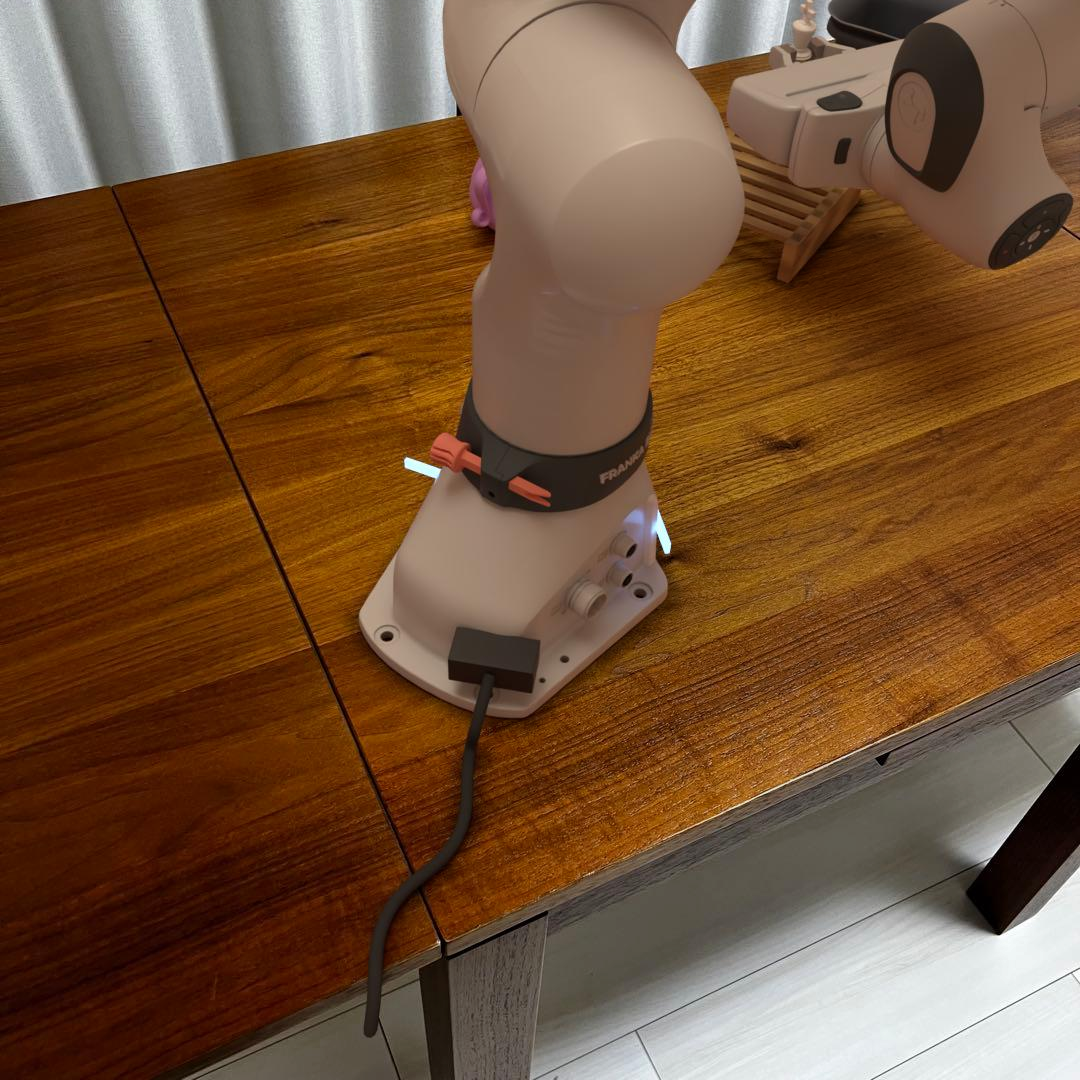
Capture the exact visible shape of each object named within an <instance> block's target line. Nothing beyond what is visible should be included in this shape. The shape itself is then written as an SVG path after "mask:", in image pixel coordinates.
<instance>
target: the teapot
mask: <svg viewBox="0 0 1080 1080" xmlns="http://www.w3.org/2000/svg"><path fill="white" fill-rule="evenodd" d="M468 196H469V197H468V198H469V201H470V204H471V207H472V209H473V211H472V212H471V214H470V221H471V223H472V224H473V226H474V227H476V228H477V227H478V228H485V227H487V226H488V227H489V228H490V229H492V230H493V231H495V232H496V230H495V214H494V206H493V201H492V196H491V192H490V188H489V184H488V181H487V177H486V173H485V169H484V166H483V163H482V160H481V158H480V156H479V157H478V159H477V161H476V163H475V165H474V168H473V171H472V174H471V177H470V182H469V190H468Z"/></svg>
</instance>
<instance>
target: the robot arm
mask: <svg viewBox="0 0 1080 1080" xmlns="http://www.w3.org/2000/svg"><path fill="white" fill-rule="evenodd" d="M696 2H697V0H443V4H442V5H443V6H442V17H441V18H442V19H441V21H442V22H441V23H442V45H443V57H444V65H445V72H446V78H447V82H448V85H449V88H450V92H451V94H452V96H453V98H454V100H455V102H456V104H457V107H458V109H459V111H460V113H461V116H462V118H463V120H464V122H465V124H466V126H467V129H468V130H469V133H470V135H471V137H472V139H473V141H474V143H475V144H474V145H475V147H476V149H477V152H478V155H479V157H480V158H481V160H482V163H483V166H484V169H485V173H486V177H487V181H488V184H489V188H490V192H491V196H492V201H493V206H494V214H495V230H496V231H495V230H494V231H495V235H494V247H493V253H492V256H491V259H490V260H491V261H490V262H489V263H488V264H487V265H486V266H485V267H484V268H483V269H482V271H481V272H480V273H479V275H478V277H476V280H475V283H474V285H473V289H472V293H471V369H472V370H471V372H472V375H471V377H470V380H469V381H468V385H467V389H466V392H465V396H464V397H463V402H461V406H460V410H459V414H458V415H459V416H460V417H459V421H458V424H457V428H456V429H457V430H456V433H455V436H453V435H452V434H450V433H448V432H441V433H440V434H439V435H438V436H437V437H436V438H435V439H434V441H433V443H432V446H431V448H430V451H429V458H430V461H431V462H433V463H434V464H436V465H439V466H442V467H440V468H438V467H435V466H433V465H431V464H427V463H424V462H421V461H418V460H415V459H413V458H410V457H405V458H404V468H405V469H408V470H411V471H414V472H417V473H419V474H423V475H425V476H428V477H431V478H434V481H433V483H432V485H431V487H430V489H429V491H428V492H427V494H426V496H425V499H424V500H423V502H422V504H421V506H420V508H419V510H418V512H417V513H416V515H415V517H414V519H413V521H412V523H411V525H410V527H409V529H408V531H407V532H406V535H405V536H404V539H403V541H402V542H401V544H400V546H399V548H397V549H398V550H397V551H396V553H395V554H394V556H393V557H392V558H391V560H390V562H389V563H388V564H387V567H386V569H385V570H384V572H383V573H382V574H381V576H380V578H379V579H378V581H377V582H376V584H375V585H374V587H373V589H372V590H371V592H370V593H369V595H368V596H367V598H366V599H365V602H364V603H363V605H362V606H361V608H360V610H359V613H358V626H359V628H360V631H361V633H362V635H363V638H364V639H365V640H366V642H367V644H368V645H369V647H370V648H371V649H372V650H373V652H374V653H375V654H376V655H377V656H378V657H379V658H380V659H381V660H382V661H383V662H384V663H385V664H387V666H389V667H390V668H391V669H393V670H394V671H395V672H396V673H398V674H399V675H400V676H402V677H403V678H405V679H406V680H408V681H409V682H411V683H413V684H414V685H415V686H417V687H419V688H420V689H422V690H424V691H425V692H427V693H430V694H432V695H433V696H434V697H437V698H438V699H441V700H442V701H445V702H447V703H449V704H451V705H454V706H456V707H459V708H462V709H464V710H467V711H470V712H472V716H471V720H470V723H469V727H468V731H467V733H466V734H467V735H466V738H465V744H464V750H463V755H462V761H461V775H460V803H459V811H458V815H457V820H456V823H455V826H454V828H453V830H452V833H451V835H450V837H449V838H448V840H447V842H446V843H445V845H444V846H443V847H442V849H441V850H439V852H438V853H437V854H436V855H435V856H434V857H433V858H431V859H430V860H429V861H428V862H427V863H426V864H424V865H423V866H421V867H420V868H419V869H418V870H416V871H415V872H414V873H413V874H412V875H411V876H409V877H408V878H407V879H406V880H405V881H404V882H402V884H400V885H399V887H398V888H396V890H395V891H394V892H393V893H392V895H391V896H390V897H389V899H387V901H386V903H385V905H384V906H383V908H382V910H381V912H380V914H379V916H378V919H377V921H376V924H375V927H374V930H373V933H372V936H371V940H370V946H369V953H368V968H367V990H366V992H367V993H366V1005H365V1013H364V1019H363V1020H364V1022H363V1028H362V1029H363V1036H365V1038H366V1039H367V1038H368V1039H372V1038H373V1037H375V1036H376V1034H377V1032H378V1030H379V1022H380V1013H381V1004H382V989H383V960H384V949H385V944H386V939H387V933H388V932H389V928H390V925H391V923H392V920H393V918H394V916H395V915H396V914H397V911H398V910H399V908H400V907H401V905H402V904H403V903H404V902H405V901H406V900H407V898H408V897H409V896H411V894H412V893H414V892H415V891H416V890H417V889H418V888H419V887H421V886H422V885H423V884H424V883H426V882H427V881H428V880H429V879H430V878H432V877H434V875H435V874H436V873H438V872H439V871H440V870H441V869H442V868H443V867H444V866H446V865H447V863H448V862H449V861H450V860H451V859H452V858H453V856H455V854H456V853H457V851H458V850H459V848H460V846H461V844H462V843H463V841H464V839H465V836H466V833H467V831H468V828H469V825H470V823H471V818H472V813H473V806H474V805H473V804H474V775H475V774H474V773H475V762H476V756H477V750H478V744H479V741H480V737H481V734H482V730H483V727H484V726H483V725H484V722H485V717H486V716H487V717H488V716H489V717H495V718H501V719H502V718H503V719H505V718H506V719H523V718H526V717H529V716H530V715H531V714H533V713H534V712H535V711H537V710H538V709H539V708H540V707H542V706H543V705H544V704H546V702H548V701H549V700H550V699H551V698H552V697H554V695H556V694H557V693H558V692H559V691H560V690H562V689H563V688H564V687H565V686H566V685H568V684H569V683H570V682H571V681H572V680H573V679H575V678H576V677H577V676H578V675H580V673H581V672H583V671H584V670H585V669H586V668H587V667H589V666H590V665H591V664H592V663H593V662H595V661H596V660H597V659H598V658H599V657H600V656H601V655H603V654H604V653H605V652H606V651H607V650H609V649H610V648H611V647H612V646H613V645H614V644H616V643H617V642H618V641H619V640H620V639H621V638H623V637H624V636H625V635H626V634H627V633H629V632H630V630H632V629H633V628H634V627H635V626H637V625H638V624H639V623H640V622H642V620H644V619H645V618H646V617H648V615H649V614H651V613H652V612H653V611H654V610H655V609H656V608H658V607H659V606H660V605H661V604H662V603H664V601H665V600H667V597H668V594H669V584H668V582H669V581H668V578H667V576H666V574H665V572H664V570H663V569H662V566H661V565H660V564H659V562H658V560H657V558H656V556H657V555H656V553H657V541H658V540H657V539H658V538H659V541H660V544H661V546H662V549H663V552H664V554H666V555H667V554H670V551H671V545H672V543H671V540H670V537H669V535H668V531H667V529H666V526H665V523H664V521H663V518H662V516H661V513H660V511H659V499H658V495H657V493H656V490H655V487H654V484H653V482H652V479H651V476H650V473H649V469H648V466H647V462H646V456H647V453H648V449H649V445H650V441H651V436H652V433H653V427H654V399H653V398H654V397H653V392H652V390H651V387H650V385H651V379H652V371H653V366H654V359H655V352H656V345H657V341H658V340H657V339H658V333H659V328H660V327H659V326H660V323H661V319H662V315H663V313H664V309H665V307H667V306H669V305H671V304H674V303H676V302H677V301H679V300H681V299H683V298H685V297H687V296H689V295H690V294H691V293H693V292H694V291H696V290H697V289H698V288H699V287H701V286H702V285H703V284H704V283H705V282H706V281H708V280H709V279H710V278H711V277H712V276H713V275H714V274H715V273H716V271H717V270H718V269H719V268H720V267H721V265H722V264H723V263H724V261H725V260H726V259H727V257H728V256H729V255H730V252H731V251H732V249H733V247H734V245H735V243H736V241H737V239H738V237H739V234H740V232H741V228H742V226H741V225H742V221H743V216H744V214H745V212H744V207H745V198H746V197H745V196H744V189H743V185H742V182H743V180H741V177H740V174H739V170H738V167H737V165H738V164H736V160H735V157H734V153H733V150H732V147H731V144H730V142H729V139H728V136H727V133H726V128H725V125H724V123H723V120H722V116H721V115H720V112H719V110H718V107H717V106H716V105H715V103H714V101H713V99H712V98H711V97H710V96H709V95H708V93H707V92H706V91H705V89H704V88H703V86H702V85H701V84H700V82H699V81H698V80H697V78H696V77H695V75H694V74H693V73H692V72H691V70H690V69H689V67H688V66H687V65H686V63H685V62H684V60H683V59H682V58H681V56H680V55H679V53H678V52H677V45H678V39H679V35H680V32H681V28H682V25H683V23H684V21H685V20H686V17H687V15H688V14H689V12H690V10H691V9H692V7H693V6H694V5H695V3H696ZM807 48H809V49H810V50H811V52H812V53H811V54H812V56H811V58H810V59H808V60H804V61H803V63H800V62H794V61H795V59H796V56H797V50H795V49H794V48H793V47H791V45H790V44H789V43H784V44H779V45H775V46H774V45H773V46H772V47H770V50H769V54H768V55H769V56H768V61H767V62H768V66H769V68H771V69H769V70H766V71H762V72H758V73H753V74H749V75H743V76H739V77H737V78H735V79H734V80H733V81H732V84H731V87H730V90H729V95H728V98H727V103H726V104H727V106H726V114H725V115H726V123H727V126H728V127H730V128H731V129H732V131H733V132H734V133H735V134H736V135H738V136H739V137H740V138H741V139H742V140H743V141H744V142H745V143H746V144H748V145H749V146H750V147H751V148H752V149H754V150H755V151H756V152H757V153H759V154H760V155H761V156H763V157H764V158H766V159H767V160H769V161H768V162H770V161H771V162H770V163H772V162H773V163H772V164H775V163H776V164H775V165H778V164H779V165H778V166H781V165H783V166H782V167H784V166H789V168H787V169H788V178H789V179H790V180H791V181H792V182H793V183H794V184H795V185H794V184H793V185H794V186H796V185H797V186H796V187H798V188H801V189H805V188H817V187H846V188H854V189H861V191H869V190H873V191H874V192H875V193H876V194H877V195H879V196H880V197H882V198H883V199H885V200H887V201H890V202H892V203H896V204H898V206H901V207H902V209H903V210H904V212H905V214H906V216H907V217H908V219H909V221H911V222H912V223H913V224H914V225H915V226H916V227H917V228H918V229H920V230H921V231H922V232H923V233H924V234H926V236H928V237H929V238H930V239H932V240H933V241H934V242H935V243H937V244H939V246H941V247H942V248H944V249H946V250H947V251H948V252H949V253H951V254H952V255H954V256H956V257H958V258H960V259H961V260H962V261H965V262H967V263H968V264H970V265H973V266H975V267H977V268H980V269H983V270H987V271H998V270H1004V269H1006V268H1009V267H1011V266H1013V265H1015V264H1017V263H1020V262H1021V261H1023V260H1025V259H1027V258H1030V257H1031V256H1033V255H1034V254H1035V253H1037V252H1039V250H1041V249H1043V247H1044V246H1045V245H1047V243H1049V242H1050V241H1051V239H1054V238H1055V236H1057V234H1058V233H1059V232H1060V230H1061V229H1062V228H1063V227H1064V225H1065V223H1066V222H1067V220H1068V218H1069V216H1070V214H1071V213H1072V209H1073V206H1074V201H1075V200H1074V194H1073V192H1072V191H1071V189H1070V187H1069V186H1068V185H1067V183H1065V181H1064V180H1063V179H1062V178H1061V177H1060V176H1059V174H1058V173H1056V171H1054V170H1053V169H1052V167H1051V165H1050V163H1049V160H1048V158H1047V155H1046V151H1045V147H1044V144H1043V140H1042V134H1041V133H1042V132H1041V126H1042V125H1043V124H1045V123H1048V122H1050V121H1052V120H1053V119H1055V118H1057V117H1059V116H1062V115H1064V114H1065V113H1067V112H1069V111H1072V110H1073V109H1075V108H1077V107H1080V0H969V1H967V2H964V3H962V4H960V5H958V6H956V7H954V8H952V9H950V10H948V11H946V12H944V13H942V14H939V15H937V16H935V17H933V18H931V19H930V20H928V21H926V22H924V23H923V24H921V25H919V26H917V27H915V28H914V29H913V30H912V31H910V33H909V34H908V35H907V36H906V38H905V39H901V40H897V41H893V42H888V43H884V44H880V45H876V46H871V47H867V48H863V49H859V50H856V49H855V48H851V47H847V46H843V45H838V44H835V42H834V43H833V42H830V41H829V40H827V39H826V38H825V37H824V36H822V35H818V36H815V37H812V38H811V40H810V42H809V44H808V45H807ZM767 160H766V161H767ZM657 535H658V536H657ZM637 596H641V598H640V597H637ZM385 639H391V640H388V641H385Z"/></svg>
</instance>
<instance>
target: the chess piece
mask: <svg viewBox="0 0 1080 1080" xmlns="http://www.w3.org/2000/svg"><path fill="white" fill-rule="evenodd" d="M813 7H814V1H813V0H805V3H803V4H802V3H801V4H800V6H799V12H801V13H802V18H799V19H797V20H795V21H793V22H792V25H791V27H792V35H793V44H794V45H790V47H793V48H794V49H795V50H797V56H796V59H795V61H794V62H800V63H803V62H804V61H805V60H808V59H810V58H811V56H812V54H811V53H812V52H811V50H810V49H809V48H807V45H808V44H809V42H810V40H811V38H813V36H814V35H815V33H816V31H817V29H818V26H817V24H816V22H815V21H813V19H816V17H817V12H816V11H815V10H813Z"/></svg>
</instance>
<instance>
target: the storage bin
mask: <svg viewBox="0 0 1080 1080" xmlns="http://www.w3.org/2000/svg"><path fill="white" fill-rule="evenodd" d="M967 1H969V0H830V1H829V3H828V5H827V10H828V13H829V15H830V16H829V18H828V20H827V23H826V31H827V33H828V35H829V36H830V37H831V38H833V39H834V40H835V41H834V44H838V45H843V46H847V47H851V48H855V49H856V50H859V49H863V48H867V47H871V46H876V45H880V44H884V43H888V42H893V41H897V40H901V39H905V38H906V36H907V35H908V34H909V33H910V31H912V30H913V29H914V28H915V27H917V26H919V25H921V24H923V23H924V22H926V21H928V20H930V19H931V18H933V17H935V16H937V15H939V14H942V13H944V12H946V11H948V10H950V9H952V8H954V7H956V6H958V5H960V4H962V3H964V2H967Z"/></svg>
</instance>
